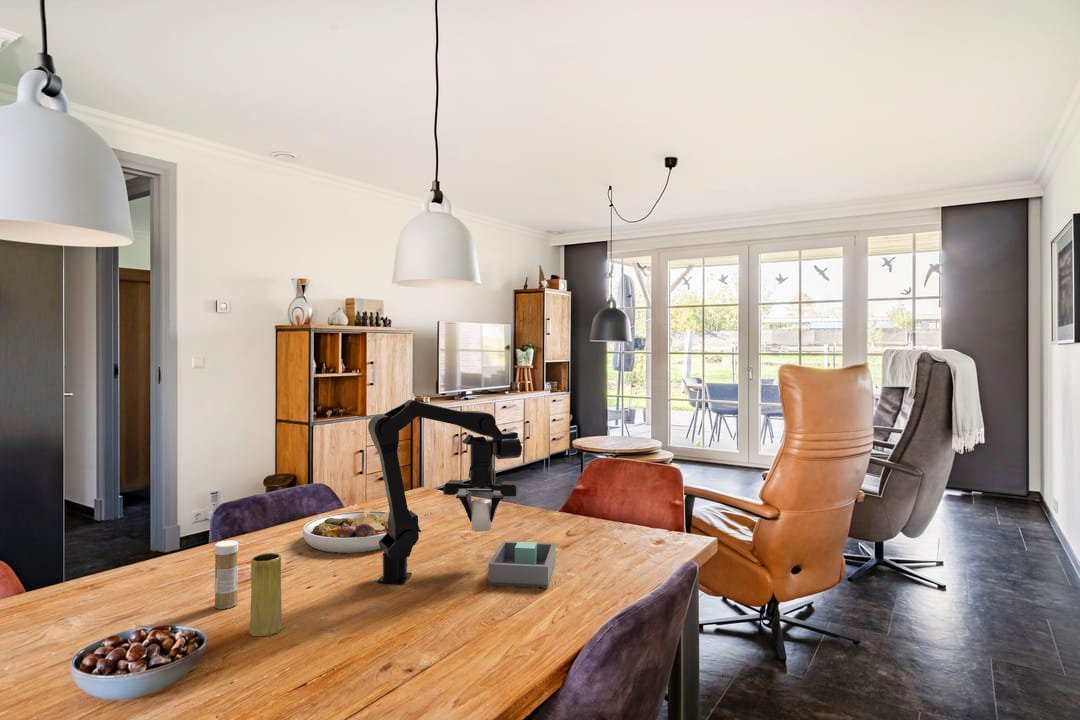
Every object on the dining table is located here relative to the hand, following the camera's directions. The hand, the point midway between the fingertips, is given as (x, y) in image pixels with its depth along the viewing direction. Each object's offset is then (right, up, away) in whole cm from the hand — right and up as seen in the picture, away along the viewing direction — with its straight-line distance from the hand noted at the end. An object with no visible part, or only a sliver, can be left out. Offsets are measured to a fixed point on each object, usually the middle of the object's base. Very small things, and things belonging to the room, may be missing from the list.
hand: (481, 521), depth 159 cm
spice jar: (-52, -11, -27) cm, 60 cm away
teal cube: (+12, -10, -2) cm, 16 cm away
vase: (-38, -11, -39) cm, 56 cm away
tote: (+11, -11, -6) cm, 17 cm away
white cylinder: (0, -2, 0) cm, 2 cm away
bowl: (-38, -11, +22) cm, 45 cm away
